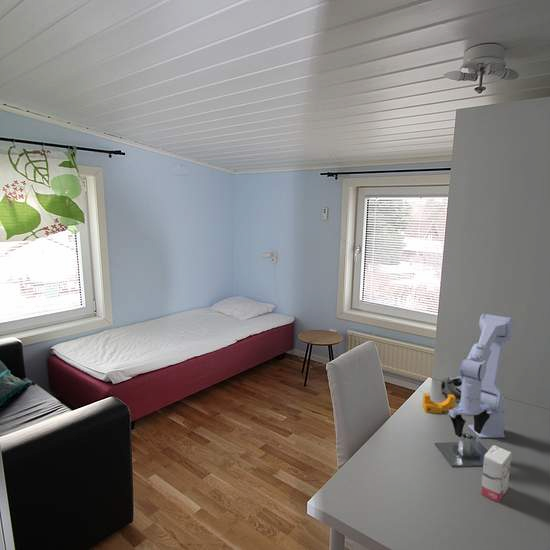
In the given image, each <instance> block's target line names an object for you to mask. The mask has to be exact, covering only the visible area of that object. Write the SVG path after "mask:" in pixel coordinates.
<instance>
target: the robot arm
mask: <svg viewBox="0 0 550 550" xmlns="http://www.w3.org/2000/svg"><path fill="white" fill-rule="evenodd" d="M478 324H479V325H478V326H479V329H480V332H481V334H480V336H479V338H478V339H479V340H478V342H477V343H474V344H473V345H472V347H471V350H469V353H468V355H467V358H466V359H462V360H461V363H460V365H459V376H461V381H462V388H461V402H459V403H458V405H457V406H455V408H453V409H450V410H449V411H448V417H449V418H450V421H451V423H452V425H453V430H454V434H455V435H456V436H457V437H458V438H459V437H461V436H462V432H464V431H463V430H464V426H465V424H466V422H467V420H465V419H464V418H463V416H467V415H468V416H470V415H471V416H473V423H472V424H468V425H467V426H468V428H469V429H470V430H471V431H473V433H474V434H475V435H476V436H477V437H478V438H480V439H482V438H484V439H486V438H488V439H489V438H505V437H506V436H505V434H504V432H505V431H504V430H505V421H506V420H505V419H506V418H505V415H504V413H503V408H504V404H505V403H504V401H505V400H504V399H505V398H504V397H505V393H504V391H503V390H502V388H500V387H499V386H498V379H499V373H500V366H501V361H502V355H503V349H504V346H505V343H506V342H507V341H511V339H512V335H513V329H514V319H513V318H512V317H508V316H507V317H506V316H499V315H494V314H488V313H482V314H481V316H480V318H479V323H478Z"/></svg>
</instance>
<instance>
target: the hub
mask: <svg viewBox="0 0 550 550" xmlns="http://www.w3.org/2000/svg"><path fill="white" fill-rule="evenodd" d="M466 438H469V439H466ZM476 440H477V437H476V436H475V435H474V434H472V433H469V432H466V431H462V436H461V437H458V442H459V446H458V450H460V451H461V452H462V453H464V454H468V455H472V454H474V453H475V442H477V441H476Z"/></svg>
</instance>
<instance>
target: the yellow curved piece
mask: <svg viewBox="0 0 550 550" xmlns="http://www.w3.org/2000/svg"><path fill="white" fill-rule="evenodd" d="M422 394H423V395H422V408H423V410H424V412H425V413H433V414H443V412H449V410H450V409H453V408H455V407H456V402H455V399H456V397H455V396H454V395H452V394H448V398H445V400H443V401H442V402H435V401H433V400H431V396H430V394H429V393H427V392H424V393H422Z"/></svg>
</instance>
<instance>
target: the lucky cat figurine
mask: <svg viewBox="0 0 550 550" xmlns="http://www.w3.org/2000/svg"><path fill="white" fill-rule="evenodd" d="M440 388H441V389H440V390H441V395H444V397H445V399H447V398H448V394H452V395H454V396H455V397H456V399H455V403H458V404H459V403H460V402H461V388H462V381H461V375H454V376H453V375H449V376H448V377H447V378H445V379H443V380H442V382H441V385H440Z"/></svg>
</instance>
